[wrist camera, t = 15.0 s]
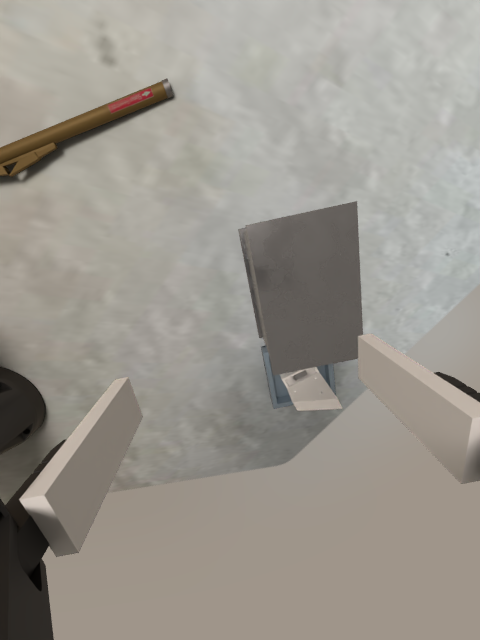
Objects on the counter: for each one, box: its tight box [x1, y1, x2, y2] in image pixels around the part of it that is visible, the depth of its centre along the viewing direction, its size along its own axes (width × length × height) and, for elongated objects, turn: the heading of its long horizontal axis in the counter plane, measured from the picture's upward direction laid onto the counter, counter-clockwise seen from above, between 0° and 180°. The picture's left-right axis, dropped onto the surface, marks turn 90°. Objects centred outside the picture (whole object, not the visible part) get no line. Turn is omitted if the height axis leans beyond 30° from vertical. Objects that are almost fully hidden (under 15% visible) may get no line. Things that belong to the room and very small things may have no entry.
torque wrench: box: [0, 79, 173, 177], centre depth 29 cm, size 5×35×5 cm
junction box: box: [238, 201, 363, 375], centre depth 31 cm, size 11×17×13 cm, turn 12°
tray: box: [261, 346, 336, 409], centre depth 41 cm, size 11×11×2 cm
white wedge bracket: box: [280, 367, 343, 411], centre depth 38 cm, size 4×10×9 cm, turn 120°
